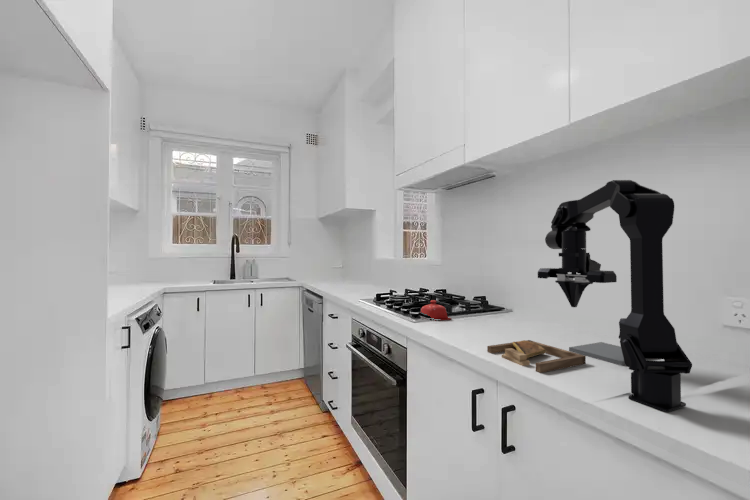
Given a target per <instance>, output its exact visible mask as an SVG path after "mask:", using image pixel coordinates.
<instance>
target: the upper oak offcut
mask: <svg viewBox="0 0 750 500" xmlns="http://www.w3.org/2000/svg"><path fill="white" fill-rule="evenodd" d="M504 354H505V355H507V356H509V357H511V358H513V359H515V360H518V361H527V359H528V358H527V355H526V354H524V353H521V352H519V351H518V350H515V349H512V348H508V349H505V352H504Z"/></svg>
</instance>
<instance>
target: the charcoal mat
mask: <svg viewBox="0 0 750 500" xmlns="http://www.w3.org/2000/svg"><path fill="white" fill-rule="evenodd" d="M568 351H570V352H573V353H577V354H581V355H584V356H587V357H590V358H593V359H598V360H602V361H604V362H607V363H610V364H611V363H612V364H615V365H618V366H626V365H625V362H624V357H623V353H622V349H621V345H616V344H611V343H607V342H602V341H599V342H593V343H588V344H581V345H576V346H569V348H568ZM646 361H650V359H646Z"/></svg>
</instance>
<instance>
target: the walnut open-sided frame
mask: <svg viewBox="0 0 750 500" xmlns="http://www.w3.org/2000/svg"><path fill="white" fill-rule="evenodd" d="M526 341H529V342H531V343H534V344H537V345H539V346H541V347H542V348H544V349H545V350H546V352H545V353H544V354H547V355H550V356H553V357H557V358H555V359H549V360H543V361H537V362H535V372H537V373H540V374H541V373H546V372H553V371H557V370H562V369H567V368H572V367H577V366H583V365H586V364H587V363H586V362H587V361H586V360H587V359H586V355H582V354H579V353H575V352H572V351H569V350H567V349H566V350H565V349H562V348H559V347H557V346H556V347H554V346H551V345H548V344H545V343H541V342H538V341H535V340H530V339H528V340H526ZM513 342H514V341H512V342H507V343H501V344H492V345H487V346H486V347H487V350H486V351H487V353H488V354H495V353H503V352H504V353H505V349H508V348H512V349H515V350H517V349H516V348H515V347H514V346H513ZM517 351H518V350H517Z"/></svg>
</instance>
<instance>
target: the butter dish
mask: <svg viewBox="0 0 750 500" xmlns="http://www.w3.org/2000/svg"><path fill="white" fill-rule="evenodd" d="M421 312H422V313H424V314H427V315H428V316H430V317H431V318H434V319H441V320H440V321H450V320H453V319H452V317H449V318H448V312H447V309H446V307H445V306H443V305H442V304H441V305H440V304H437V300H435V299H432V300H430V303H429V304H425V305H423V306H422V307H421V308H420V313H421ZM434 322H437V321H436V320H435V321H434Z"/></svg>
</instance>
